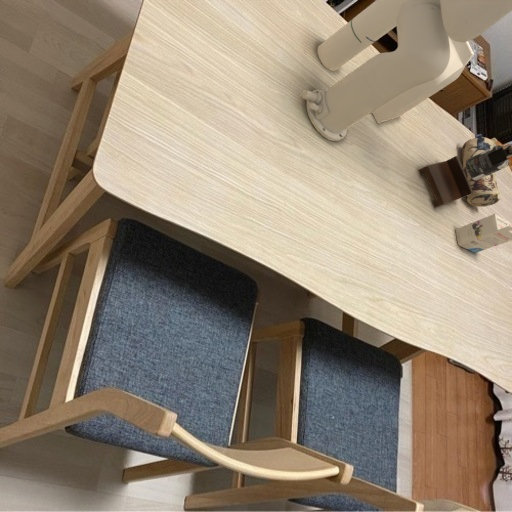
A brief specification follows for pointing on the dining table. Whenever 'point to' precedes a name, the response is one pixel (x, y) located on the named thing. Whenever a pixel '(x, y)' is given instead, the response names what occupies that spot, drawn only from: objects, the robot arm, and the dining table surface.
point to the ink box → (484, 233)
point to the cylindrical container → (359, 33)
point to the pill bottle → (484, 164)
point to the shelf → (447, 181)
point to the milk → (427, 84)
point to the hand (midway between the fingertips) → (496, 158)
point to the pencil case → (486, 186)
